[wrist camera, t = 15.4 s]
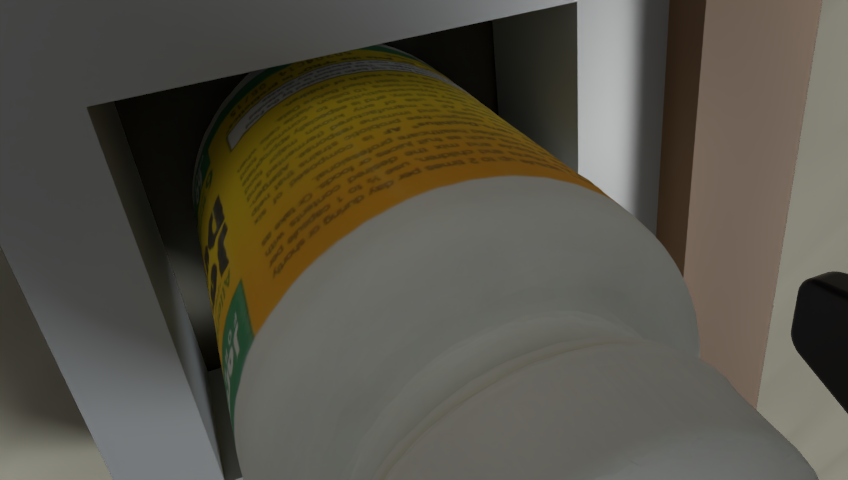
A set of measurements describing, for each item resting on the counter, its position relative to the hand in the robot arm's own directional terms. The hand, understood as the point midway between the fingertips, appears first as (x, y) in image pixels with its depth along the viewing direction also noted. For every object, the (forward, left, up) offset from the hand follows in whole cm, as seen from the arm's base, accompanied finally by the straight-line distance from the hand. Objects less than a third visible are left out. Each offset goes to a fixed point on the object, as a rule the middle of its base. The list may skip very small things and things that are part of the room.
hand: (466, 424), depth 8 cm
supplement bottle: (0, 0, -7) cm, 7 cm away
